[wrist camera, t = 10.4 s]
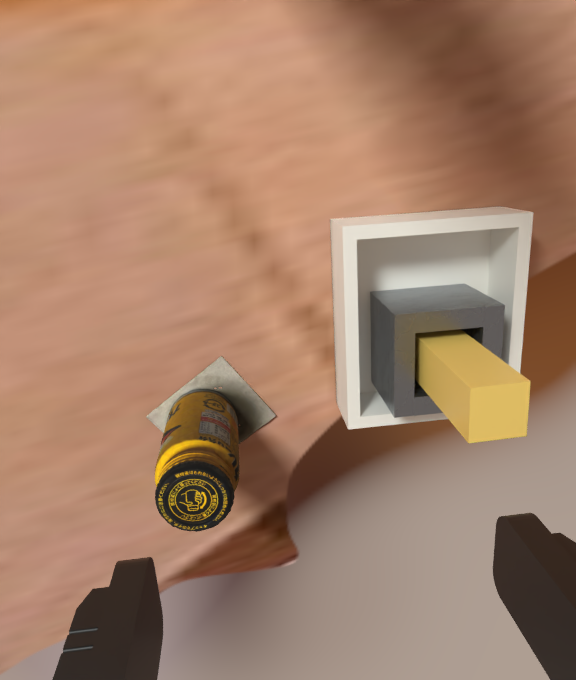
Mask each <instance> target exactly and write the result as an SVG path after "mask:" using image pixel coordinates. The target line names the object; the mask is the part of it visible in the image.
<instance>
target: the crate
mask: <svg viewBox="0 0 576 680" xmlns="http://www.w3.org/2000/svg"><path fill="white" fill-rule="evenodd" d="M532 223H533V212H530V211H525V210H519V209H513V208H508V207H502V206H498V207H485V208H471V209H458V210H444V211H431V212H417V213H404V214H391V215H377V216H364V217H350V218H337V219H330V231H331V259H332V287H333V315H334V343H335V370H336V398H337V405H338V407H339V409H340V412H341V414H342V416H343V419H344V421H345V423H346V425H347V428H348V429H357V428H366V427H376V426H386V425H395V424H404V423H415V422H424V421H434V420H443V419H448V418H447V417H446V416H445V415H444V413H436V414H427V415H417V416H407V417H398V418H394V416H393V415H392V413H391V412H390V410H389V409H388V407H387V405H386V404H385V402H384V401H383V399H382V397H381V396H380V394H379V393H378V391H377V390H376V388H375V386H374V385H373V383H372V382H371V317H370V292H371V291H382V290H394V289H406V288H418V287H429V286H441V285H453V284H467V285H469V286H470V287H472V288H474V289H476V290H478V291H480V292H482V293H483V294H485V295H487V296H489V297H491V298H493V299H495V300H497V301H498V302H500V303H502V304H504V305H505V312H504V327H503V341H502V355H501V360H503V361H504V362H505V363H507V364H508V365H509V366H511V367H512V368H513V369H515V370H516V371H517V372H519V373H520V368H521V356H522V343H523V331H524V320H525V308H526V296H527V284H528V272H529V260H530V247H531V235H532Z"/></svg>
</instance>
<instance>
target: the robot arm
mask: <svg viewBox="0 0 576 680" xmlns="http://www.w3.org/2000/svg"><path fill="white" fill-rule="evenodd" d="M493 576H494V581H495V586H496V589H497V591H498V594H499V596H500V598H501V600H502V601H503V603H504V605H505V606H506V608H507V609H508V611H509V613H510V614H511V616H512V618H513V619H514V621H515V622H516V624H517V626H518V627H519V629H520V631H521V632H522V634H523V636H524V637H525V639H526V640H527V642H528V644H529V645H530V647H531V649H532V650H533V652H534V654H535V655H536V657H537V658H538V660H539V662H540V663H541V665H542V667H543V668H544V670H545V671H546V673H547V674H548V676H549V678H550V680H576V543H575V542H574V541H572V540H570V539H569V538H567V537H566V536H564V535H563V534H561V533H554V534H551V533H550V531H549V530H548V529H547V528H546V527H545V526H544V524H543V523H542V522H541V521H540V520H539V519H538V517H537V516H536V515H534V514H532V513H526V514H517V515H509V516H501V517H499V518H498V520H497V524H496V534H495V549H494V561H493ZM162 639H163V615H162V607H161V601H160V596H159V590H158V584H157V578H156V573H155V567H154V562H153V559H152V558H151V557H148V558H140V559H131V560H123V561H118V562H117V563H116V565H115V569H114V572H113V576H112V579H111V583H110V586H109V587H105V588H97V589H92V591H91V592H90V593H89V594H88V596H87V597H86V598H85V599H84V600H83V602H82V603H81V604H80V605H79V607H78V608H77V609H76V612H75V615H74V618H73V621H72V624H71V627H70V630H69V635H68V636H67V639H66V642H65V645H64V648H63V653H62V654H61V656H60V659H59V662H58V665H57V668H56V671H55V674H54V677H53V680H157V676H158V669H159V662H160V655H161V646H162Z"/></svg>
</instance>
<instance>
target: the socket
mask: <svg viewBox="0 0 576 680" xmlns="http://www.w3.org/2000/svg"><path fill="white" fill-rule="evenodd" d="M504 312H505V305H504V304H502V303H500V302H498V301H497V300H495V299H493V298H491V297H489V296H487V295H485V294H483V293H482V292H480V291H478V290H476V289H474V288H472V287H470V286H469V285H467V284H453V285H441V286H429V287H418V288H406V289H394V290H382V291H371V292H370V317H371V382H372V383H373V385H374V386H375V388H376V390H377V391H378V393H379V394H380V396H381V397H382V399H383V401H384V402H385V404H386V405H387V407H388V409H389V410H390V412H391V413H392V415H393V416H394V418H398V417H407V416H417V415H427V414H436V413H443V412H442V411H441V410H440V409H439V407H438V406H437V405H436V404H435V403H434V401H433V400H432V399H431V398H430V397H429V395H428V394H427V393H426V392H425V391H424V389H423V388H422V387H421V386H420V385H419V383H418V382H417V381H416V380H415V333H424V332H435V331H446V330H457V329H461V330H462V331H464V332H465V333H466V334H468V335H469V336H470V337H472V338H473V339H474V340H476V341H477V342H478V343H480V344H481V345H482V346H484V347H485V348H486V349H488V350H489V351H491V352H492V353H493V354H495V355H496V356H497V357H499V358H500V359H501V355H502V341H503V327H504Z"/></svg>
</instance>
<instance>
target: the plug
mask: <svg viewBox="0 0 576 680" xmlns="http://www.w3.org/2000/svg"><path fill="white" fill-rule="evenodd" d="M415 380H416V381H417V382H418V383H419V385H420V386H421V387H422V388H423V389H424V391H425V392H426V393H427V394H428V395H429V397H430V398H431V399H432V400H433V401H434V403H435V404H436V405H437V406H438V407H439V409H440V410H441V411H442V412H443V413H444V415H445V416H446V417H447V418H448V419H449V420H450V422H451V423H452V424H453V425H454V426H455V428H456V429H457V430H458V431H459V432H460V434H461V435H462V436H463V437H464V438H465V440H466V441H467V442H468V443H476V442H483V441H492V440H500V439H508V438H515V437H524V436H527V422H528V409H529V395H530V380H528V379H527V378H526V377H524V376H523V375H521V374H520V373H519V372H517V371H516V370H515V369H513V368H512V367H511V366H509V365H508V364H507V363H505V362H504V361H503V360H501V359H500V358H499V357H497V356H496V355H495V354H493V353H492V352H491V351H489V350H488V349H486V348H485V347H484V346H482V345H481V344H480V343H478V342H477V341H476V340H474V339H473V338H472V337H470V336H469V335H468V334H466V333H465V332H464V331H462V330H461V329H457V330H446V331H435V332H424V333H415Z"/></svg>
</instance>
